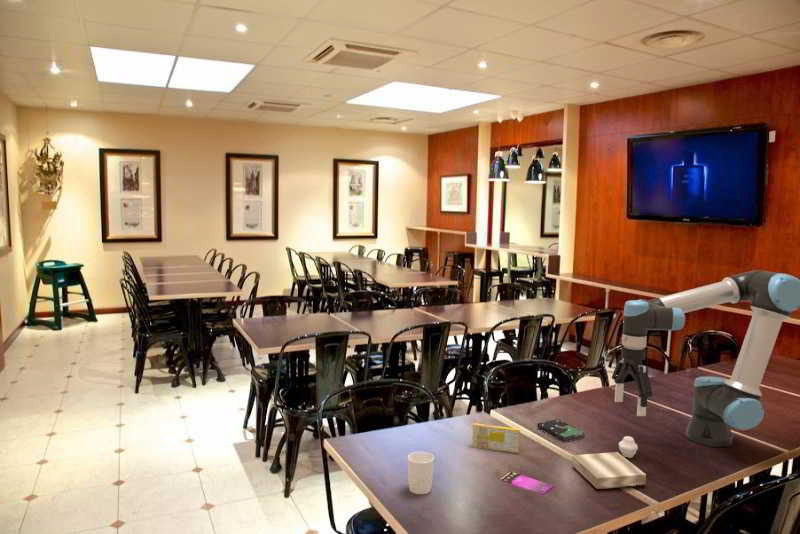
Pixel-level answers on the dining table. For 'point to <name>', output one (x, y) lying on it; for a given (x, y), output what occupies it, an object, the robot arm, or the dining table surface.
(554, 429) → the disk drive
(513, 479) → the smartphone
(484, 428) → the candy box
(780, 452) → the dining table surface
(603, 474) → the beige satin panel
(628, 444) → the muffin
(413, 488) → the white cup
